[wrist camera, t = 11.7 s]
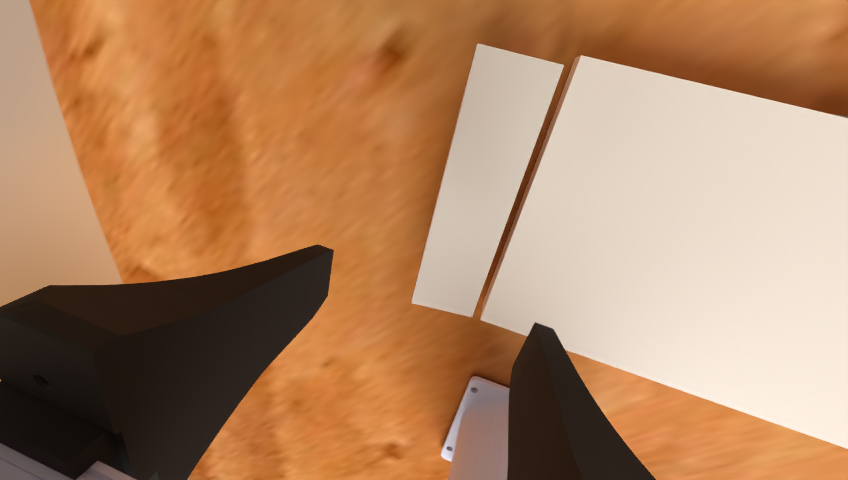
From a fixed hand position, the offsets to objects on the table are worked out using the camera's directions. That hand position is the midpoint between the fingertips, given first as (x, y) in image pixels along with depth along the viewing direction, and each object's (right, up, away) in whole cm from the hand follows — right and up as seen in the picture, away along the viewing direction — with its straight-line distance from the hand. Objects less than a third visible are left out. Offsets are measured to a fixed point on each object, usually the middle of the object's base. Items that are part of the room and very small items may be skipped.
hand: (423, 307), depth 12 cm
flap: (+2, +4, +5) cm, 7 cm away
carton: (+16, +1, +6) cm, 17 cm away
